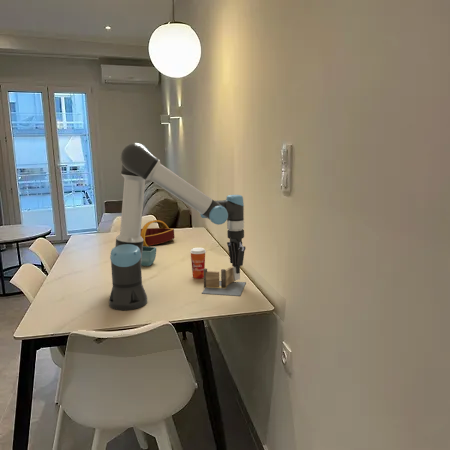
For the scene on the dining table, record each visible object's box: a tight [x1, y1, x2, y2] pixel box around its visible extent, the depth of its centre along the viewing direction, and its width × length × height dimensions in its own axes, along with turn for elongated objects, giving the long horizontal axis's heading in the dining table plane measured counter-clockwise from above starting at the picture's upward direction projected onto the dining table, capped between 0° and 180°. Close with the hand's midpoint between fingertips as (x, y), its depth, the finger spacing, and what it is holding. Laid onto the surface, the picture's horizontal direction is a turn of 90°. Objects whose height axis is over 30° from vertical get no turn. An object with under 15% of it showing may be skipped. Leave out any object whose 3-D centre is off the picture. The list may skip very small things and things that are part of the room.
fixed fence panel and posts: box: [203, 268, 226, 288], centre depth 178 cm, size 2×10×8 cm, turn 79°
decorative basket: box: [140, 219, 176, 247], centre depth 265 cm, size 34×29×15 cm
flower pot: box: [141, 246, 157, 267], centre depth 213 cm, size 9×9×9 cm
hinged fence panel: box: [225, 264, 237, 286], centre depth 182 cm, size 9×2×8 cm, turn 149°
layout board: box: [201, 280, 246, 297], centre depth 178 cm, size 17×17×1 cm
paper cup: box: [189, 247, 207, 280], centre depth 192 cm, size 8×8×14 cm
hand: (236, 279), depth 181 cm, fingers closed
